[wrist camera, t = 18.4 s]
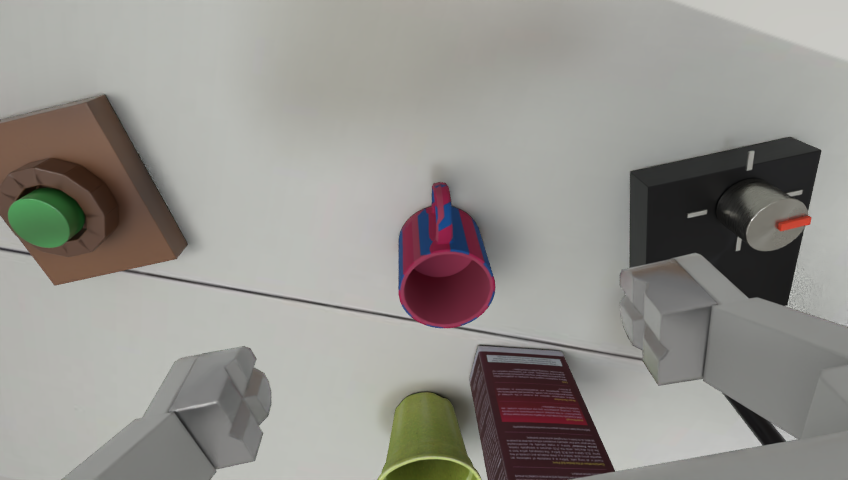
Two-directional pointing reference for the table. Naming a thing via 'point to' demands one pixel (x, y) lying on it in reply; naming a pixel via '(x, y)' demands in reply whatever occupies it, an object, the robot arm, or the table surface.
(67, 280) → the switch block
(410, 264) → the mug
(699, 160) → the lamp base
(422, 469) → the plant pot
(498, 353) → the supplement box
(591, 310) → the table surface
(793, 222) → the dimmer knob
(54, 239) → the lamp button
